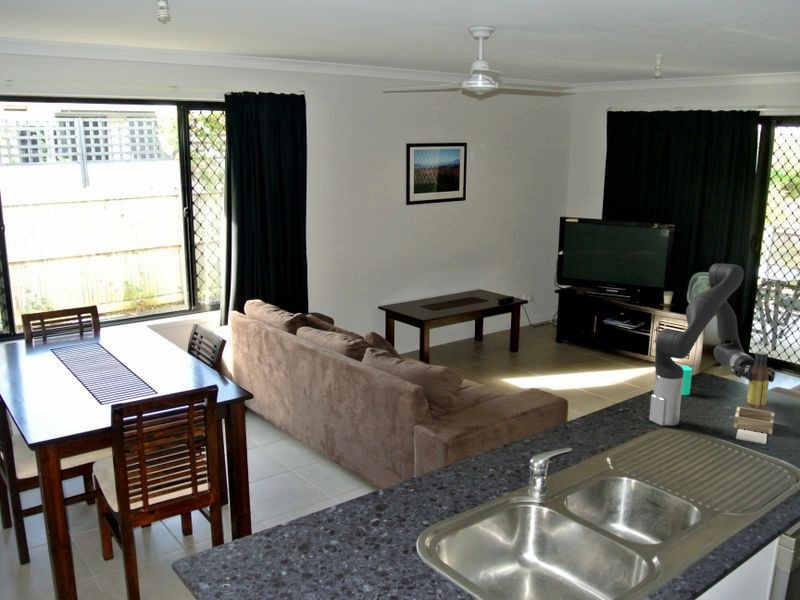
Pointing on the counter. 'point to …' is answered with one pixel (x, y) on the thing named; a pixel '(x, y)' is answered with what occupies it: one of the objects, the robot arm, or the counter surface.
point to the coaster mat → (751, 436)
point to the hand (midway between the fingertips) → (761, 378)
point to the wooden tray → (754, 420)
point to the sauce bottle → (758, 382)
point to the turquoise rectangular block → (686, 380)
